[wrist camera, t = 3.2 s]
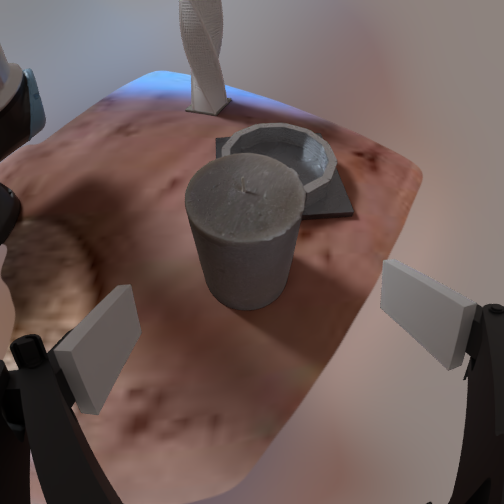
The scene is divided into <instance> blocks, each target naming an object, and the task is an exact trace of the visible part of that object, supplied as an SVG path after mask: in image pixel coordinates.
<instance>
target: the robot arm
mask: <svg viewBox="0 0 504 504" xmlns="http://www.w3.org/2000/svg"><path fill="white" fill-rule="evenodd" d="M45 123H46V118H45V113H44V108H43V105H42V101H41V98H40V95H39V91H38V87H37V83H36V80H35V77H34V74H33V71H32V70H31V69H30V68H29V69H26V70H23V71H22V69H21V68H20V66H19V65H18V64H14V63H8V62H7V59H6V57H5V55H4V52H3V50H2V47H1V45H0V162H1V161H2V160H3V159H5V158H6V157H7V156H8V155H10V154H11V153H12V152H14V151H15V150H17V149H18V148H19V147H21V146H22V145H23V144H25V143H26V142H28V141H30V140H31V138H32V137H34V136H35V135H36V134H37V133H39V132H40V131H41V130H42V129H43V128H44V126H45ZM19 210H20V202H19V199H18V197H17V196H16V195H15V193H14V192H13V191H12V190H11V189H9V188H8V187H6V186H5V185H3V184H2V183H0V245H1V244H2V243H3V242H4V241H5V239H6V238H7V236H8V235H9V233H10V232H11V230H12V228H13V226H14V225H15V222H16V220H17V217H18V214H19ZM380 308H381V309H382V310H383V311H384V312H385V313H387V314H388V315H389V316H390V317H391V318H392V319H393V320H394V321H395V322H397V323H398V324H399V325H400V326H401V327H402V328H403V329H404V330H406V331H407V332H408V333H409V334H410V335H411V336H412V337H413V338H414V339H415V340H416V341H417V342H418V343H420V344H421V345H422V346H423V347H424V348H425V349H426V350H427V351H428V352H429V353H430V354H431V355H432V356H433V357H435V358H436V359H437V360H438V361H439V362H440V363H441V364H442V365H443V366H444V367H445V368H446V369H447V370H451V369H454V368H456V367H459V366H461V365H462V362H463V359H464V355H465V352H466V353H467V354H469V355H470V356H471V357H470V360H469V364H468V367H467V370H466V373H465V376H464V379H463V380H466V377H468V393H467V408H466V419H465V429H464V437H463V444H462V450H461V456H460V462H459V467H458V472H457V477H456V481H455V486H454V490H453V494H452V497H451V499H450V501H449V503H448V504H504V306H501V305H499V304H488V305H485V306H484V307H481V306H480V305H478V304H477V303H476V302H474V301H472V300H470V299H469V298H467V297H465V296H463V295H462V294H460V293H458V292H456V291H455V290H453V289H451V288H449V287H447V286H445V285H444V284H442V283H440V282H438V281H436V280H434V279H432V278H430V277H429V276H427V275H425V274H423V273H421V272H419V271H417V270H415V269H413V268H412V267H410V266H408V265H406V264H404V263H402V262H400V261H398V260H396V259H391V260H383V273H382V290H381V303H380ZM141 333H142V331H141V327H140V323H139V319H138V315H137V310H136V306H135V301H134V296H133V292H132V287H131V284H129V285H118V286H117V287H115V288H114V289H113V290H112V291H111V292H110V293H109V294H108V295H107V296H106V297H105V298H104V299H103V300H102V301H101V302H100V303H99V304H98V305H97V306H96V307H95V308H94V309H93V310H92V311H91V312H90V313H89V314H88V315H87V316H86V317H85V318H84V319H83V320H82V321H81V322H80V323H79V324H78V325H77V326H76V327H75V328H74V329H72V330H70V331H69V332H67V333H66V334H65V335H64V336H63V337H62V339H60V340H59V341H58V342H57V344H55V346H54V347H53V348H52V349H51V350H50V351H49V352H48V353H46V350H45V347H44V345H43V342H42V339H41V337H40V336H39V335H36V334H30V335H25V336H22V337H20V338H18V339H16V340H15V341H13V342H12V343H11V345H10V350H11V352H12V355H13V357H14V359H15V362H16V364H17V366H18V370H13V371H8V370H7V368H6V365H5V363H4V362H3V360H0V504H31V503H30V449H31V453H32V457H33V461H34V465H35V469H36V472H37V475H38V479H39V482H40V485H41V488H42V491H43V494H44V497H45V500H46V502H47V504H123V503H122V501H121V500H120V498H119V497H118V495H117V493H116V492H115V490H114V489H113V487H112V485H111V484H110V482H109V480H108V479H107V477H106V475H105V474H104V472H103V470H102V468H101V467H100V465H99V463H98V461H97V459H96V458H95V456H94V454H93V452H92V450H91V448H90V446H89V444H88V442H87V440H86V438H85V436H84V434H83V431H82V429H81V427H80V425H79V423H78V420H77V418H76V416H75V414H74V412H73V410H72V408H71V407H72V406H73V404H74V402H75V401H76V403H77V405H78V407H79V409H80V411H81V413H85V414H93V415H99V413H100V411H101V409H102V407H103V405H104V403H105V401H106V399H107V397H108V395H109V393H110V391H111V389H112V387H113V385H114V383H115V381H116V380H117V378H118V376H119V374H120V372H121V370H122V368H123V366H124V364H125V362H126V361H127V359H128V357H129V355H130V353H131V351H132V350H133V348H134V346H135V344H136V342H137V340H138V339H139V337H140V335H141ZM427 504H432V503H431V502H429V503H427Z"/></svg>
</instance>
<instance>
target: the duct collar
mask: <svg viewBox="0 0 504 504" xmlns="http://www.w3.org/2000/svg"><path fill="white" fill-rule="evenodd" d="M308 130H309V129H306V128H302V127H298V126H295V125H291V124H287V123H284V124H283V123H263V124H258V125H257V124H255V125H253V126H250V127H248V128H245V129H243V130H240V131H238V132H236V133H234V134H233V135H232V136H231V137H224V138H216V159H218V158H221V157H224V156H228V155H232V154H238V153H254V154H260V155H265V156H268V157H271V158H273V159H276V160H278V161H280V162H282V163H283V164H285V165H286V166H287V167H289V168H292V169H294V170H295V171H296V172H297V174H298V175H300V176H299V179H300V181H301V182H302V184H303V187H304V191H305V195H306V198H305V206H304V207H305V209H304V211H303V214H302V218H301V220H307V219H321V218H336V217H352V216H353V213H354V211H353V208H352V205H351V203H350V200H349V198H348V195H347V193H346V190H345V188H344V185H343V183H342V181H341V178H340V176H339V174H338V171H337V169H336V165H337V159H336V157H335V155H334V153H333V151H332V149H331V147H330V144H328V142H326V141H325V140H324V139H323V138H322V136H321V134H320V133H314V132H312V131H311V130H309V131H308Z"/></svg>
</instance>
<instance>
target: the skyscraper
mask: <svg viewBox="0 0 504 504" xmlns="http://www.w3.org/2000/svg"><path fill="white" fill-rule="evenodd" d="M179 19H180V30H181V37H182V41H183V46H184V50H185V53H186V56H187V59H188V62H189V64H190V67H191V99H192V104H191V105H190V106H189V107H188V108H187V109H185V111H186V112H194V113H200V114H207V115H213V116H216V115H217V114H218V113H219V112H220V111H221V110H222V109H223V108H224V107H225V106H226V105H227V104H228V103H229V102H230V101H231V98H227V96H226V90H225V85H224V80H223V75H222V71H221V67H220V63H219V60H218V58H219V54H220V49H221V43H222V36H223V12H222V3H221V0H179Z"/></svg>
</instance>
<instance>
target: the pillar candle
mask: <svg viewBox="0 0 504 504" xmlns="http://www.w3.org/2000/svg"><path fill="white" fill-rule="evenodd" d="M299 176H300V175H298V174H297V172H296V171H295V170H294V169H292V168H289V167H287V166H286V165H285V164H283V163H282V162H280V161H278V160H276V159H273V158H271V157H268V156H265V155H260V154H254V153H238V154H232V155H228V156H224V157H221V158H218V159H215V160H214V161H211V162H209V163H208V164H206V165H205V166H203V167H202V168H201V169H200V170H198V171H197V173H195V175H194V176H193V177H192V179H191V180H190V182H189V184H188V187H187V189H186V193H185V207H186V211H187V215H188V219H189V223H190V227H191V230H192V233H193V237H194V241H195V244H196V248H197V251H198V255H199V259H200V263H201V266H202V269H203V273H204V276H205V280H206V283H207V285H208V288H209V290H210V292H211V293H212V294H213V296H214V297H215V298H216V299H217V300H218V301H220V302H221V303H222V304H224V305H226V306H228V307H230V308H233V309H237V310H255V309H259V308H262V307H265V306H267V305H269V304H270V303H272V302H273V301H274V300H276V299H277V298H278V297H279V295H280V294H281V293H282V291H283V289H284V287H285V285H286V282H287V278H288V275H289V270H290V266H291V263H292V259H293V254H294V249H295V245H296V240H297V236H298V231H299V227H300V222H301V218H302V214H303V211H304V209H305V207H304V206H305V198H306V195H305V191H304V187H303V184H302V182H301V181H300V179H299Z"/></svg>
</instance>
